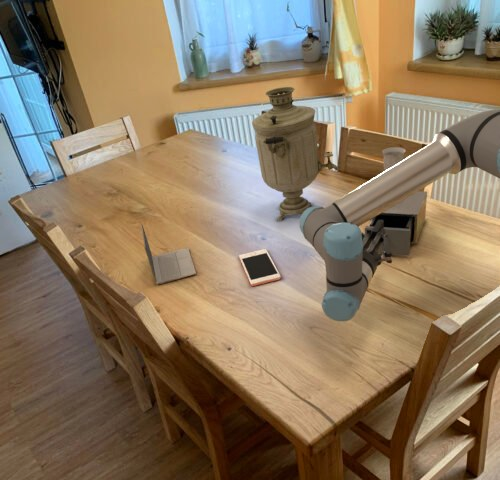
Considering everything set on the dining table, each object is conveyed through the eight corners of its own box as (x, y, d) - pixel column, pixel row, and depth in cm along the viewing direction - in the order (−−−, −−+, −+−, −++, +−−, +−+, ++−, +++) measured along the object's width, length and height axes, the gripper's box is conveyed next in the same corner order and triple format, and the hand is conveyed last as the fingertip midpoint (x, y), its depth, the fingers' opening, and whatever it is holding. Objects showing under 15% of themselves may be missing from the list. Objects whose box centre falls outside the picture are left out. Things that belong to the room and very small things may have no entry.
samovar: (318, 237, 158) (309, 104, 133) (248, 229, 170) (227, 106, 145) (352, 198, 177) (349, 75, 152) (286, 193, 189) (274, 78, 164)
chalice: (407, 202, 168) (409, 148, 157) (396, 210, 165) (398, 156, 154) (388, 198, 172) (389, 146, 161) (377, 206, 169) (377, 153, 158)
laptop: (196, 275, 151) (186, 237, 143) (156, 285, 149) (144, 247, 141) (188, 249, 165) (179, 213, 157) (151, 258, 164) (140, 222, 156)
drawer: (407, 258, 139) (409, 233, 134) (363, 254, 144) (363, 230, 139) (417, 231, 150) (419, 207, 145) (376, 229, 155) (376, 205, 150)
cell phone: (266, 251, 156) (265, 248, 155) (281, 279, 142) (281, 276, 141) (239, 257, 155) (238, 255, 154) (251, 286, 141) (251, 283, 140)
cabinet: (415, 244, 146) (417, 214, 140) (369, 241, 151) (369, 212, 145) (425, 220, 156) (427, 191, 150) (381, 218, 162) (382, 190, 156)
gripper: (330, 282, 118) (356, 235, 134) (385, 288, 113) (405, 239, 129) (328, 254, 114) (356, 209, 130) (386, 260, 108) (407, 212, 124)
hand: (380, 224), depth 129 cm, fingers closed
